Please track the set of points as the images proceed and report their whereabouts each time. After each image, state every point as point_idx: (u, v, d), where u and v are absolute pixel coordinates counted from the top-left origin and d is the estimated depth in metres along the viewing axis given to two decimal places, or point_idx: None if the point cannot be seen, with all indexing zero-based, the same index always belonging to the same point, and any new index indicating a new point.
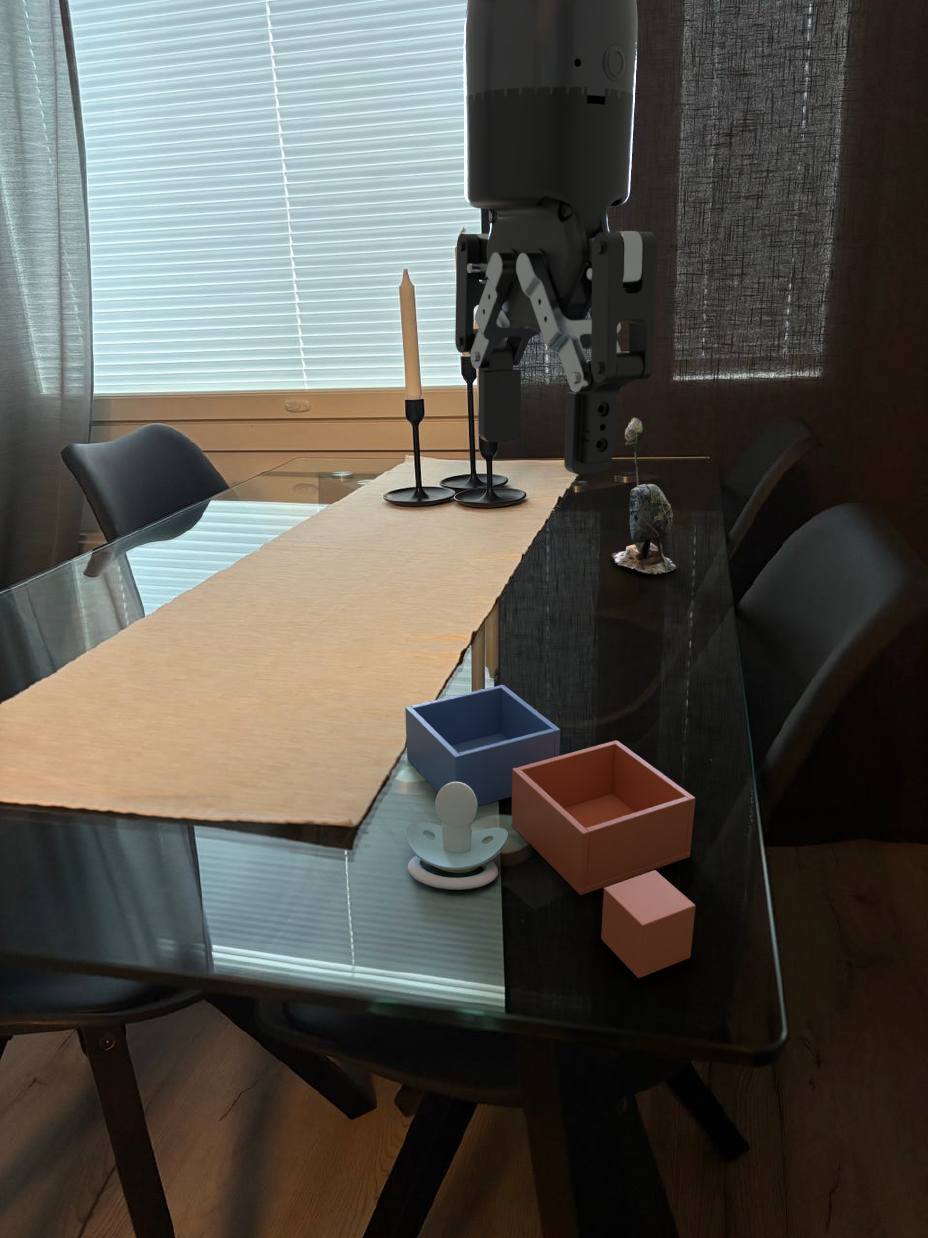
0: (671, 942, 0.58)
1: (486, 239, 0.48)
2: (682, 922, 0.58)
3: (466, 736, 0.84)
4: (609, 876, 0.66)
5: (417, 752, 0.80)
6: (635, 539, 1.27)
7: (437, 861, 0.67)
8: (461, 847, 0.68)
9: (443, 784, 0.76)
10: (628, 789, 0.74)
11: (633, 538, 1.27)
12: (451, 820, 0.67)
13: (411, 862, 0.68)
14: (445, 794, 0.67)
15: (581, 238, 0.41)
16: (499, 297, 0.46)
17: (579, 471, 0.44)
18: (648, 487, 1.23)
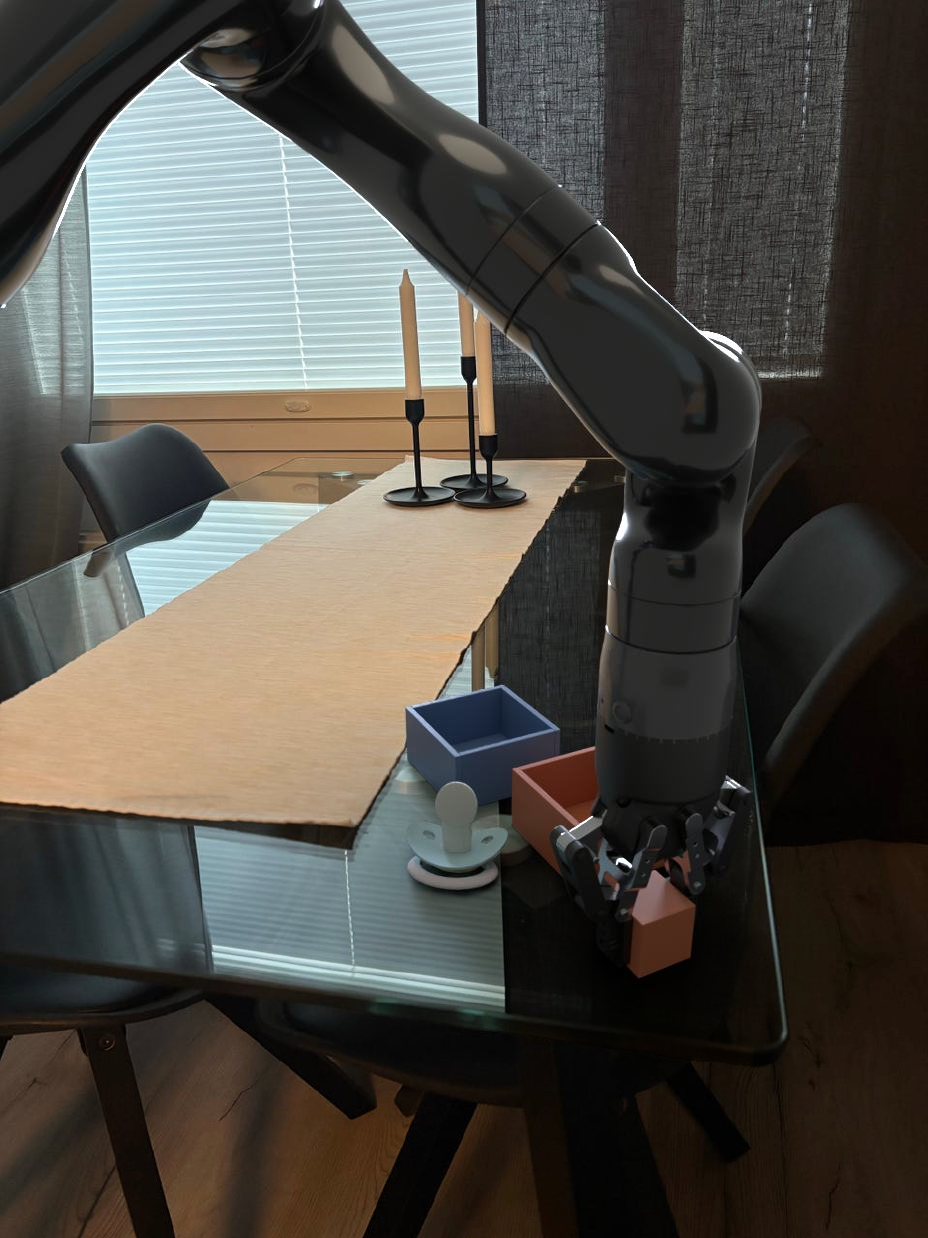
0: (671, 942, 0.58)
1: None
2: (682, 922, 0.58)
3: (466, 736, 0.84)
4: None
5: (417, 752, 0.80)
6: None
7: (437, 861, 0.67)
8: (461, 847, 0.68)
9: (443, 784, 0.76)
10: None
11: None
12: (451, 820, 0.67)
13: (411, 862, 0.68)
14: (445, 794, 0.67)
15: (591, 813, 0.55)
16: None
17: None
18: None
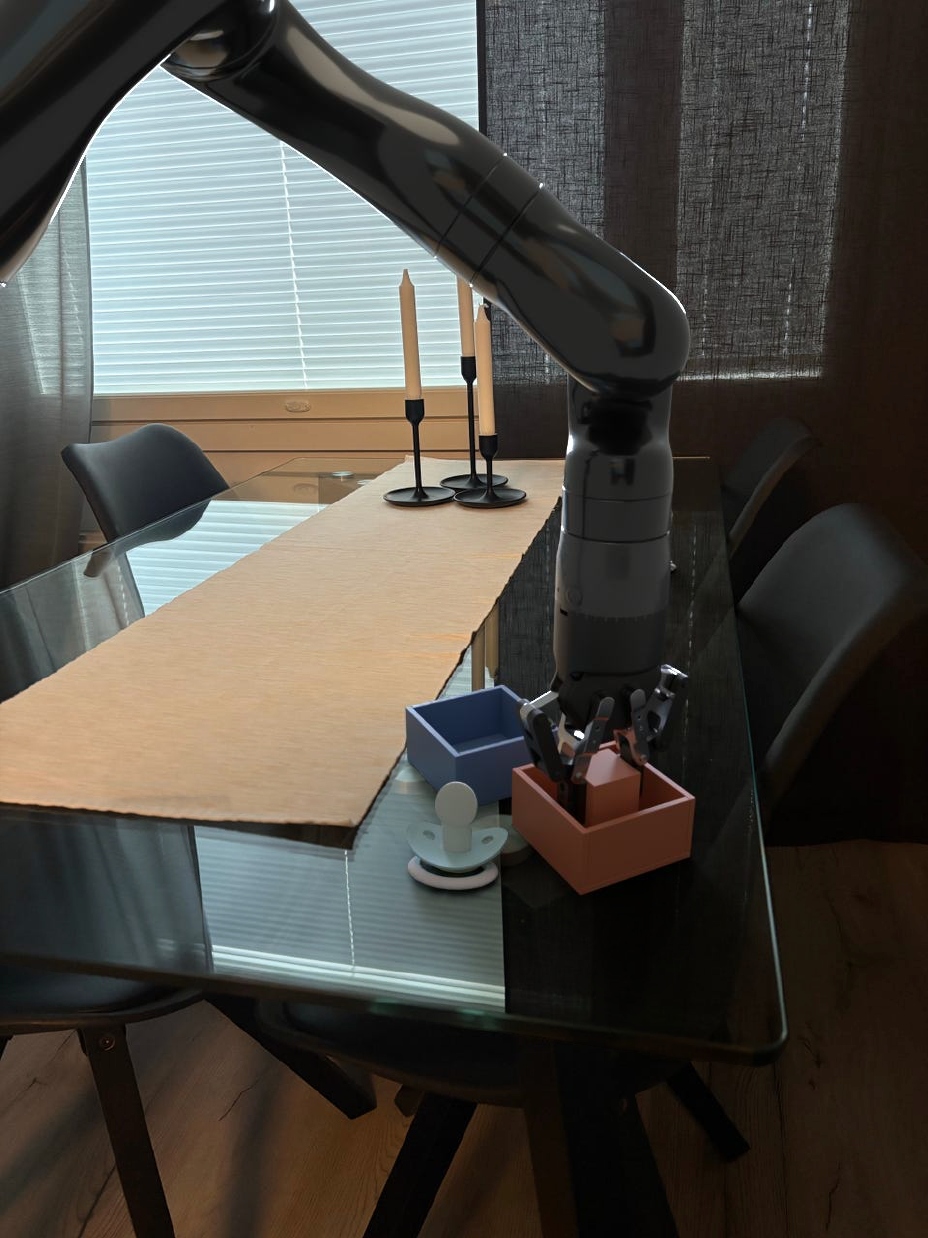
0: (620, 805, 0.68)
1: None
2: (629, 787, 0.68)
3: (466, 736, 0.84)
4: (609, 876, 0.66)
5: (417, 752, 0.80)
6: None
7: (437, 861, 0.67)
8: (461, 847, 0.68)
9: (443, 784, 0.76)
10: None
11: None
12: (451, 820, 0.67)
13: (411, 862, 0.68)
14: (445, 794, 0.67)
15: (550, 688, 0.65)
16: None
17: None
18: None
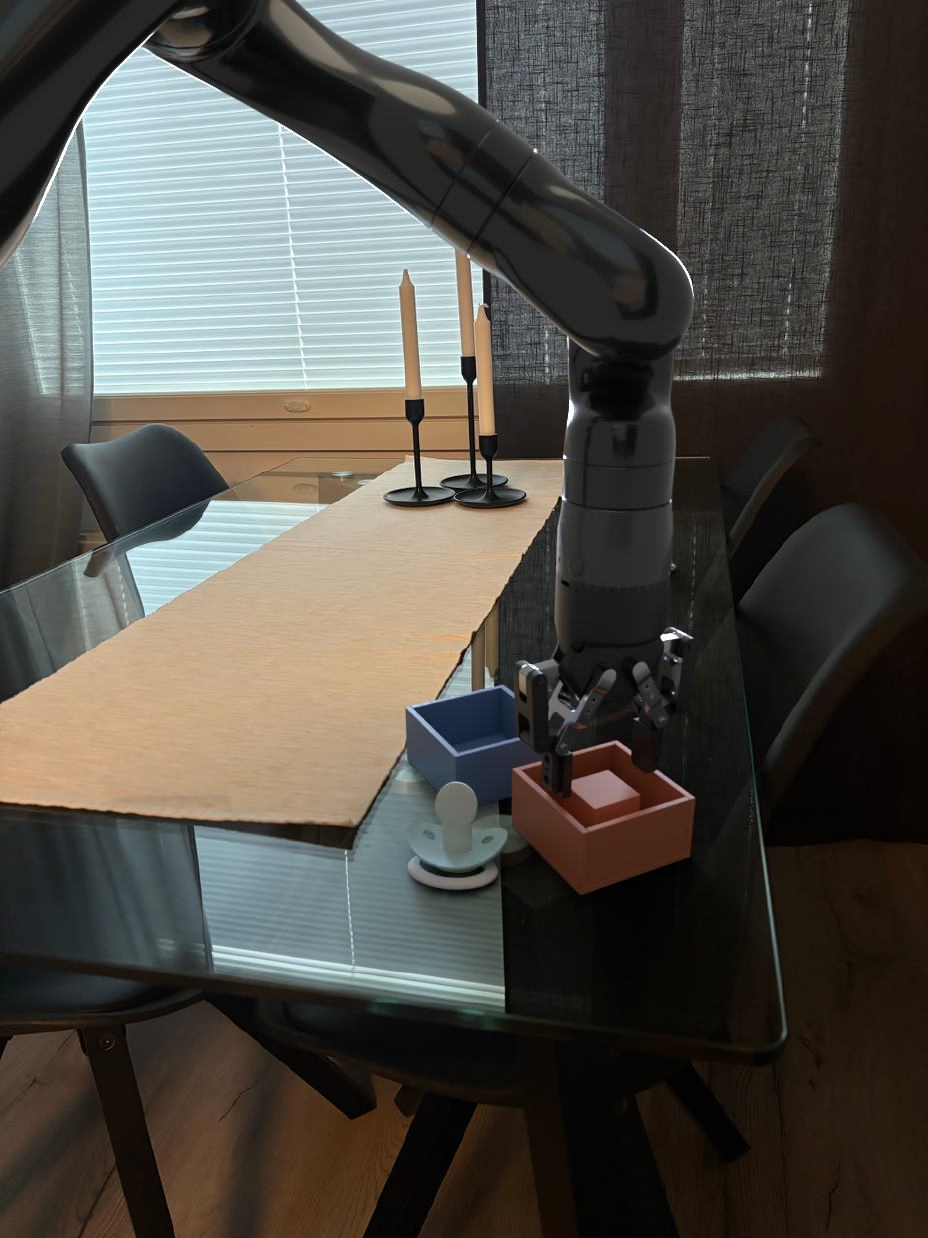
0: None
1: (663, 635, 0.68)
2: (629, 809, 0.69)
3: (466, 736, 0.84)
4: (609, 876, 0.66)
5: (417, 752, 0.80)
6: None
7: (437, 861, 0.67)
8: (461, 847, 0.68)
9: (443, 784, 0.76)
10: None
11: None
12: (451, 820, 0.67)
13: (411, 862, 0.68)
14: (445, 794, 0.67)
15: (552, 657, 0.64)
16: None
17: None
18: None
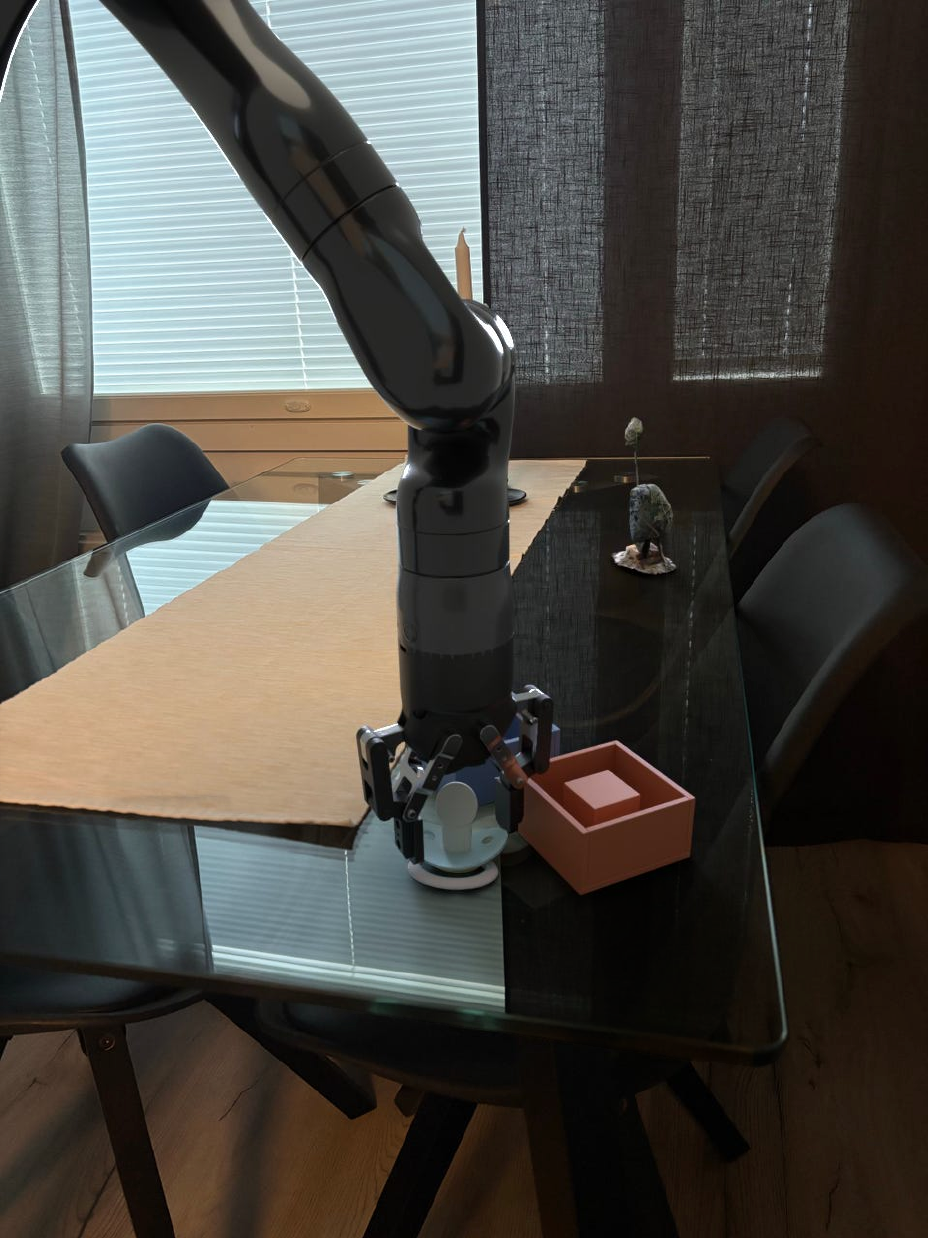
0: None
1: (519, 694, 0.66)
2: (629, 809, 0.69)
3: None
4: (609, 876, 0.66)
5: None
6: (635, 539, 1.27)
7: (437, 861, 0.67)
8: (461, 847, 0.68)
9: (443, 784, 0.76)
10: None
11: (633, 538, 1.27)
12: (451, 820, 0.67)
13: (411, 862, 0.68)
14: (445, 794, 0.67)
15: (397, 722, 0.63)
16: None
17: None
18: (648, 487, 1.23)
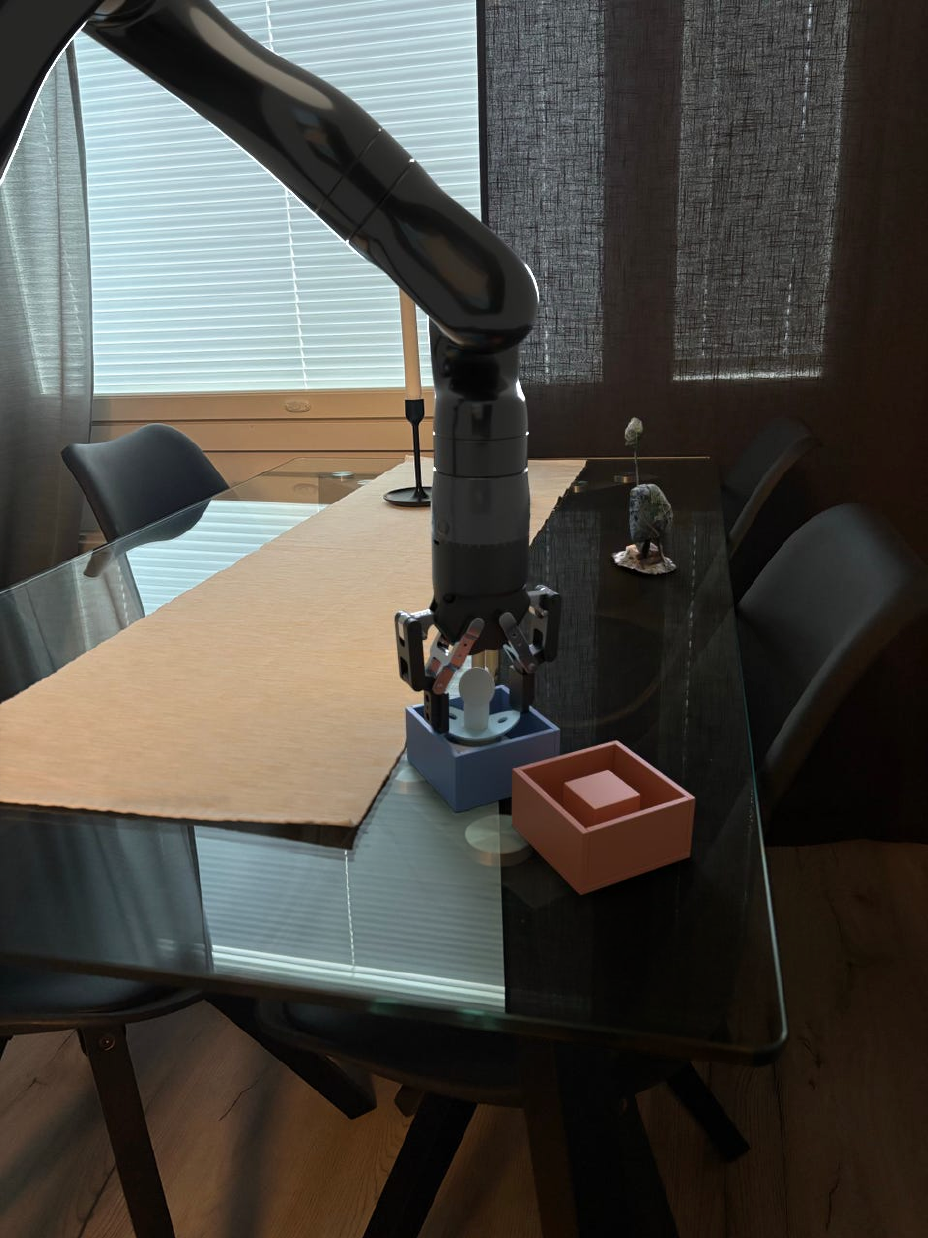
0: None
1: (532, 591, 0.78)
2: (629, 809, 0.69)
3: None
4: (609, 876, 0.66)
5: (417, 752, 0.80)
6: (635, 539, 1.27)
7: (460, 734, 0.78)
8: (480, 724, 0.79)
9: (443, 784, 0.76)
10: None
11: (633, 538, 1.27)
12: (472, 700, 0.78)
13: None
14: (467, 677, 0.78)
15: (429, 608, 0.74)
16: None
17: None
18: (648, 487, 1.23)
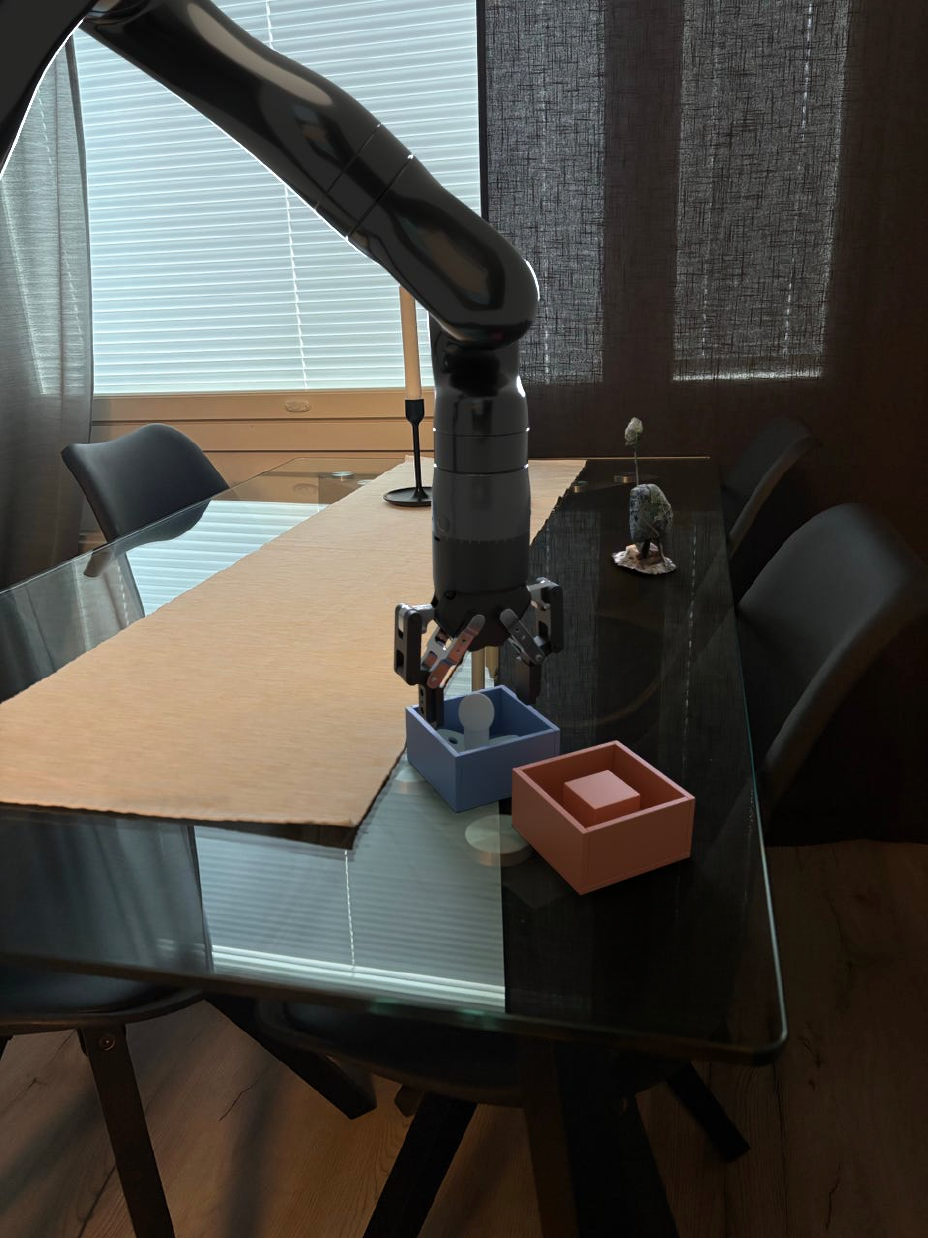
0: None
1: (532, 585, 0.77)
2: (629, 809, 0.69)
3: None
4: (609, 876, 0.66)
5: (417, 752, 0.80)
6: (635, 539, 1.27)
7: None
8: None
9: (443, 784, 0.76)
10: None
11: (633, 538, 1.27)
12: (472, 725, 0.79)
13: None
14: (467, 703, 0.79)
15: (430, 603, 0.74)
16: None
17: None
18: (648, 487, 1.23)
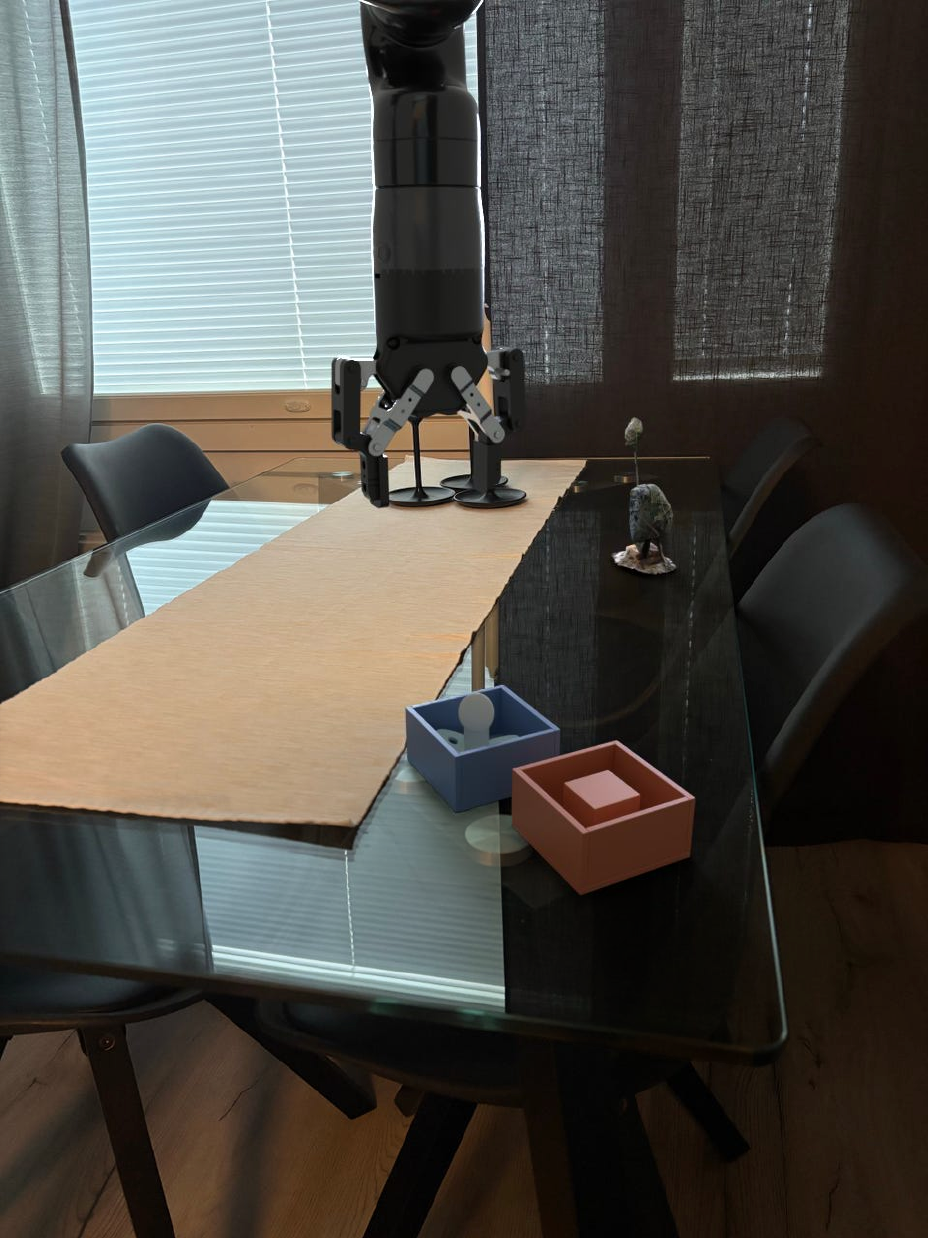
0: None
1: (490, 351, 0.69)
2: (629, 809, 0.69)
3: None
4: (609, 876, 0.66)
5: (417, 752, 0.80)
6: (635, 539, 1.27)
7: None
8: None
9: (443, 784, 0.76)
10: None
11: (633, 538, 1.27)
12: (472, 725, 0.79)
13: None
14: (467, 703, 0.79)
15: (372, 358, 0.65)
16: None
17: (371, 501, 0.69)
18: (648, 487, 1.23)
